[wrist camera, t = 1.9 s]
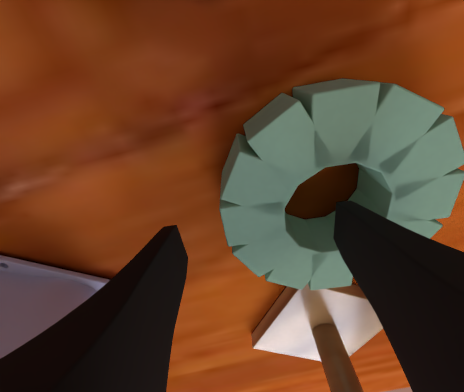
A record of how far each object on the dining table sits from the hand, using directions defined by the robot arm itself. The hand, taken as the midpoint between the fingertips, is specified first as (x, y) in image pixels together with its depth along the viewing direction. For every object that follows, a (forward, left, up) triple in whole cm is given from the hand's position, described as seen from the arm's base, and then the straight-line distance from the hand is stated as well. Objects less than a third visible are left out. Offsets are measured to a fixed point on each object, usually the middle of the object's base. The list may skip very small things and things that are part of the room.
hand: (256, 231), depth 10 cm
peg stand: (+10, -9, -4) cm, 14 cm away
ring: (+3, +2, -4) cm, 5 cm away
